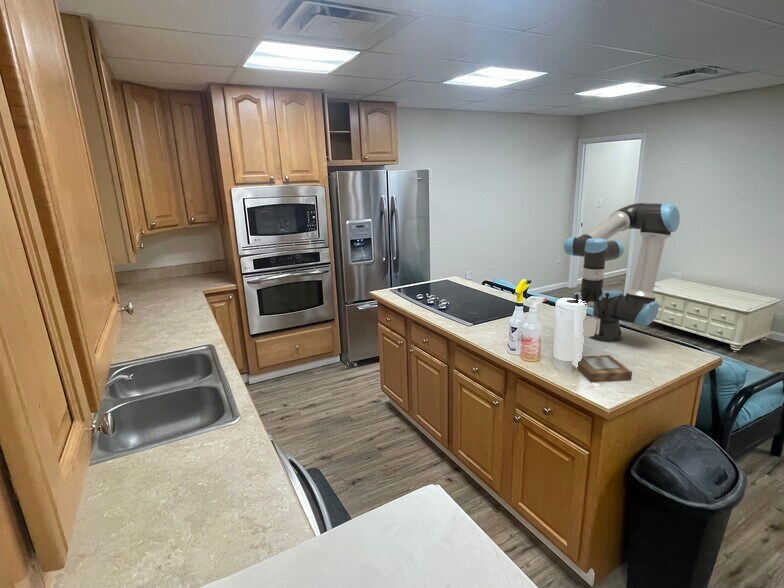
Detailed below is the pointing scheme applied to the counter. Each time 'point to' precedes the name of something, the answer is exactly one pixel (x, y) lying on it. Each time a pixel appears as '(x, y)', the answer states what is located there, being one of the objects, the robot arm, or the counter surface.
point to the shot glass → (589, 325)
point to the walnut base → (603, 369)
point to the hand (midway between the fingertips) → (587, 333)
